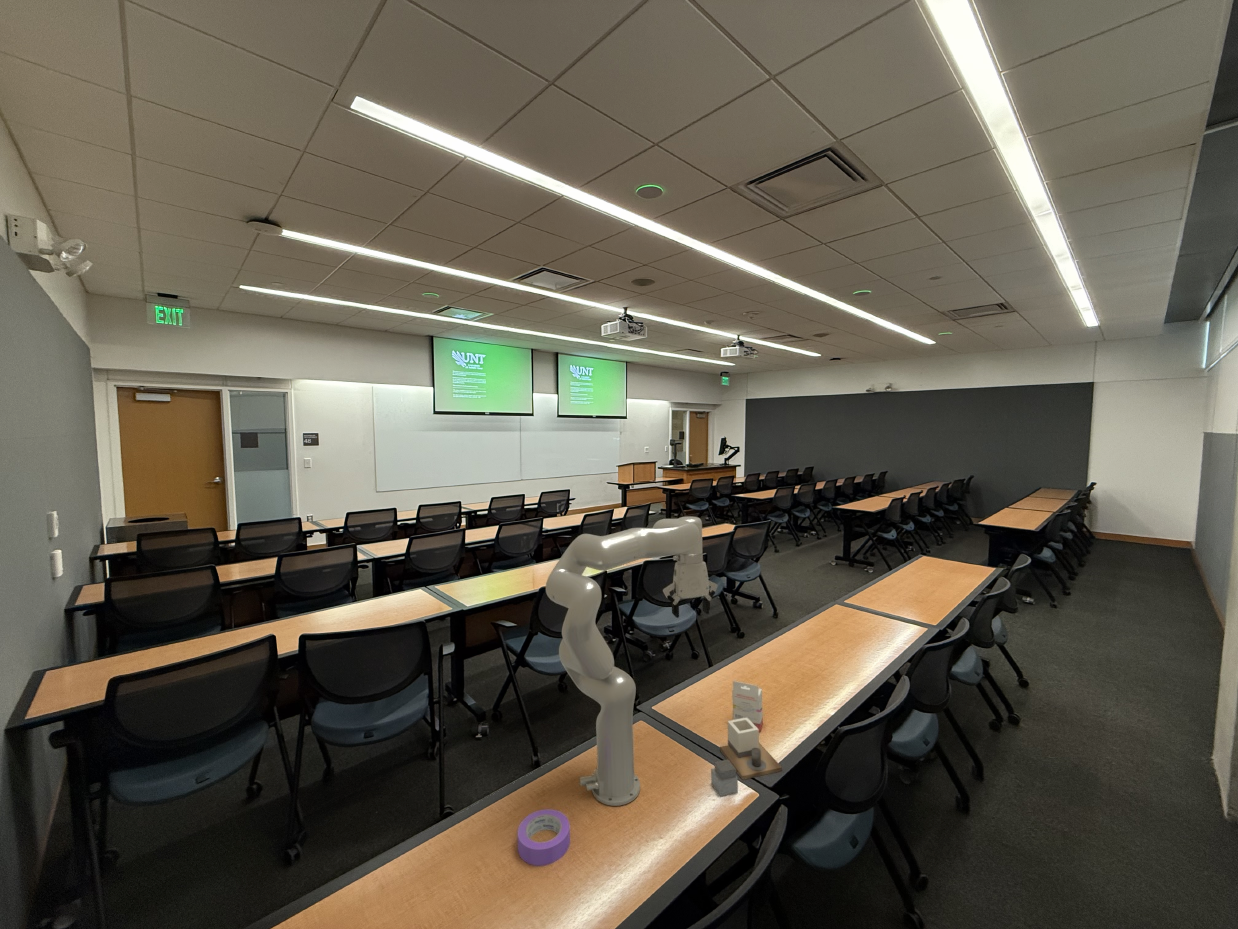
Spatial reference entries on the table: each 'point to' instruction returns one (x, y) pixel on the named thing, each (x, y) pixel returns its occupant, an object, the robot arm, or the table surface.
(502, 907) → the table surface
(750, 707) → the ink cartridge box
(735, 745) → the sleeve
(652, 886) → the table surface
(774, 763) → the board
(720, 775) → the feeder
